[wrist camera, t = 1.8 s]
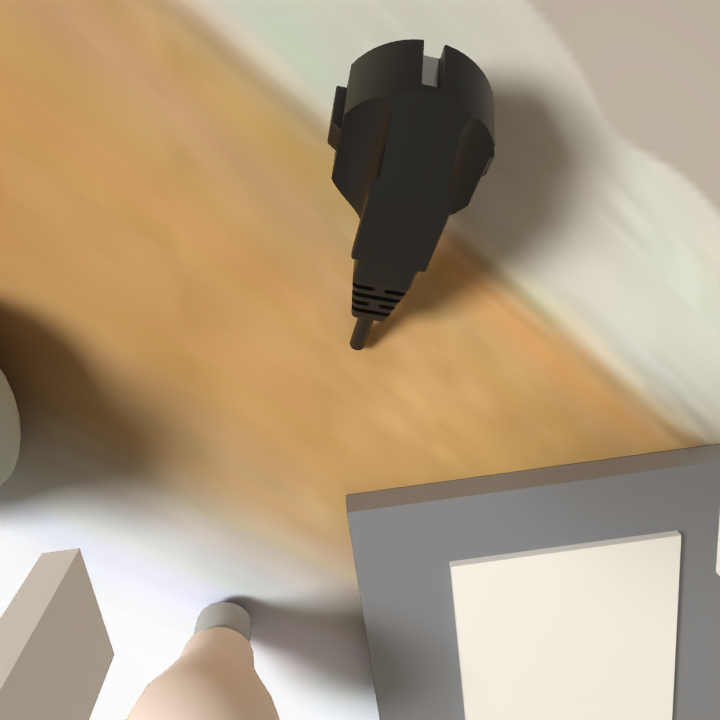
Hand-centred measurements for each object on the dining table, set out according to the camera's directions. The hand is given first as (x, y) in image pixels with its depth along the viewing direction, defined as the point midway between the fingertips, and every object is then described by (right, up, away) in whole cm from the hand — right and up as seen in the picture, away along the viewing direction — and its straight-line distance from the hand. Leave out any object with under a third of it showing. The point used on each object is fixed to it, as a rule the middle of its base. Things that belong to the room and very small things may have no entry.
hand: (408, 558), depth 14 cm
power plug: (-1, +7, +18) cm, 19 cm away
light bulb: (-8, -9, +21) cm, 24 cm away
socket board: (+10, -10, +22) cm, 26 cm away
